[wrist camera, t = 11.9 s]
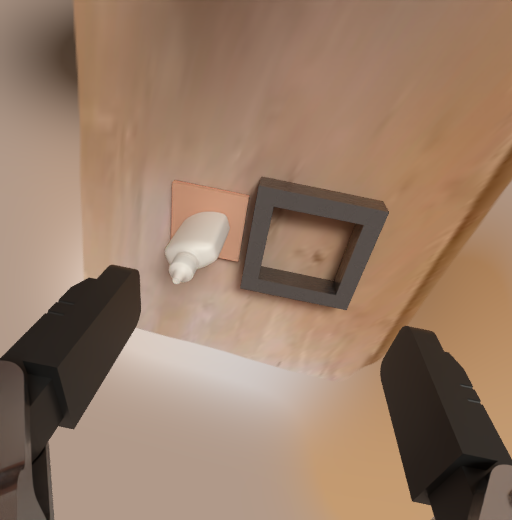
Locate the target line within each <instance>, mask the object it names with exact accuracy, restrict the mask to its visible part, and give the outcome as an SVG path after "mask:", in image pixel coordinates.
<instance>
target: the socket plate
mask: <svg viewBox="0 0 512 520" xmlns="http://www.w3.org/2000/svg"><path fill="white" fill-rule="evenodd" d="M274 207H278V208H283V209H288V210H293V211H298V212H303V213H307V214H312V215H317V216H322V217H327V218H332V219H337V220H342V221H347V222H351V223H356V224H355V227H354V229H353V232H352V235H351V237H350V240H349V242H348V245H347V248H346V250H345V253H344V256H343V258H342V261H341V263H340V266H339V269H338V271H337V274H336V277H335V279H334V281H330V280H326V279H321V278H316V277H311V276H306V275H301V274H296V273H291V272H287V271H282V270H277V269H272V268H267V267H262V266H261V263H262V259H263V254H264V249H265V245H266V240H267V235H268V231H269V226H270V222H271V217H272V212H273V208H274ZM388 214H389V211H388V209H387V208H386V206H385V204H384V202H383V201H379V200H374V199H369V198H364V197H359V196H354V195H349V194H344V193H340V192H335V191H330V190H325V189H320V188H315V187H310V186H305V185H300V184H295V183H291V182H286V181H281V180H276V179H271V178H266V177H261V180H260V183H259V187H258V193H257V199H256V204H255V210H254V215H253V221H252V226H251V232H250V237H249V243H248V248H247V254H246V259H245V265H244V271H243V276H242V282H241V287H240V288H241V289H246V290H251V291H256V292H261V293H266V294H270V295H275V296H280V297H285V298H290V299H295V300H300V301H305V302H309V303H314V304H319V305H324V306H329V307H334V308H339V309H343V310H347V308H348V305H349V303H350V301H351V299H352V296H353V294H354V292H355V289H356V287H357V285H358V282H359V280H360V278H361V276H362V273H363V271H364V269H365V266H366V264H367V262H368V260H369V257H370V255H371V253H372V250H373V248H374V246H375V243H376V241H377V239H378V237H379V234H380V232H381V230H382V227H383V225H384V223H385V221H386V218H387V216H388Z"/></svg>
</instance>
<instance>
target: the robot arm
mask: <svg viewBox="0 0 512 520" xmlns="http://www.w3.org/2000/svg"><path fill="white" fill-rule="evenodd" d="M140 312H141V298H140V275H139V271H138V270H136V269H131V268H126V267H122V266H117V265H110V266H109V267H107V269H106V270H105V271H104V272H103V273H102V274H101V275H100V276H99V277H98V278H97V279H93V278H88V279H86V280H84V281H82V282H80V283H78V284H76V285H74V286H72V287H71V288H70V289H69V290H68V291H67V292H66V293H65V294H64V295H63V296H62V297H61V298H60V299H59V302H58V303H57V302H56V303H55V304H54V305H53V306H52V307H51V308H50V309H49V310H48V313H47V314H44V315H43V316H42V317H41V318H40V319H39V320H38V321H37V322H36V323H35V324H34V325H33V326H32V327H31V328H30V329H29V330H28V332H26V333H25V334H24V335H23V336H22V337H21V338H20V339H19V340H18V341H17V342H16V343H15V344H14V345H13V346H12V347H11V348H10V349H9V350H8V351H7V352H6V353H5V354H4V355H3V356H2V357H1V358H0V520H54V510H53V495H52V481H51V466H50V453H49V443H48V441H49V439H50V438H51V436H52V435H53V433H54V432H55V430H56V428H57V427H58V426H61V427H65V428H70V429H74V428H75V427H76V425H77V423H78V422H79V420H80V418H81V417H82V415H83V413H84V412H85V410H86V409H87V407H88V405H89V404H90V402H91V400H92V399H93V397H94V395H95V394H96V392H97V390H98V389H99V387H100V385H101V384H102V382H103V380H104V379H105V377H106V376H107V374H108V372H109V371H110V369H111V367H112V366H113V364H114V362H115V361H116V359H117V357H118V355H119V354H120V352H121V351H122V349H123V347H124V346H125V344H126V343H127V341H128V339H129V337H130V336H131V334H132V333H133V331H134V329H135V328H136V326H137V323H138V320H139V317H140ZM380 372H381V373H380V375H381V382H382V385H383V389H384V393H385V397H386V401H387V404H388V409H389V413H390V416H391V421H392V424H393V428H394V432H395V436H396V440H397V444H398V448H399V452H400V455H401V460H402V463H403V467H404V471H405V475H406V479H407V483H408V486H409V491H410V495H411V499H412V501H413V502H418V503H423V504H427V505H431V507H432V510H433V513H434V517H433V518H432V519H431V520H512V459H511V457H510V455H509V453H508V451H507V450H506V448H505V446H504V444H503V442H502V440H501V438H500V436H499V435H498V433H497V431H496V429H495V427H494V425H493V423H492V421H491V419H490V418H489V416H488V414H487V412H486V410H485V408H484V406H483V405H481V404H480V399H479V397H478V395H477V393H476V391H475V390H473V389H472V387H473V386H472V384H471V382H470V380H469V378H468V376H467V374H466V372H465V371H464V369H463V368H462V367H461V366H460V364H459V363H458V362H457V361H456V360H455V359H454V358H453V357H452V356H451V355H450V354H449V353H448V352H444V350H443V348H442V347H441V344H440V342H439V340H438V339H437V336H436V335H435V333H434V332H432V331H429V330H424V329H419V328H414V327H409V326H404V327H402V328H401V330H400V331H399V333H398V335H397V336H396V338H395V340H394V341H393V343H392V345H391V346H390V348H389V350H388V352H387V353H386V355H385V357H384V358H383V361H382V364H381V371H380Z"/></svg>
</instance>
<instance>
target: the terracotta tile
mask: <svg viewBox="0 0 512 520" xmlns="http://www.w3.org/2000/svg"><path fill="white" fill-rule="evenodd" d="M249 196H250V195H245V194H240V193H235V192H230V191H226V190H221V189H216V188H211V187H206V186H201V185H196V184H191V183H186V182H182V181H177V180H174V181H173V182H172V220H171V239H172V238H173V236H174V235H175V233H176V232H177V230H178V229H179V227H180V226H181V225H182V223H183V222H184V220H185V219H187V218H188V217H190V216H192V215H194V214H197V213H200V212H219V213H223V214H225V215H226V216H227V219H228V222H229V226H230V230H229V233H228V235H227V238H226V240H225V243H224V245H223V247H222V250H221V252H220V254H219V256H218V258H222V259H227V260H232V261H237V262H238V260H239V256H240V250H241V244H242V238H243V232H244V226H245V220H246V214H247V208H248V202H249Z"/></svg>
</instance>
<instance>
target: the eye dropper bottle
mask: <svg viewBox="0 0 512 520" xmlns="http://www.w3.org/2000/svg"><path fill="white" fill-rule="evenodd" d="M229 230H230V226H229V222H228V219H227V216H226V215H225V214H223V213H219V212H200V213H197V214H194V215H192V216H190V217H188V218H187V219H185V220H184V222H183V223H182V225H181V226H180V227H179V229H178V230H177V232H176V233H175V235H174V236H173V238H172V239H171V240H170V242H169V243H168V245H167V247H166V248H165V256H166V259H167V261H168V263H169V264H170V266H169V273H170V275H171V277H172V278H173V280H172V281H173V283H174V284H179V283H180V282H188V281H190V280H191V279H192V278H193V276H194V274H195V272H196V270H197V269H200V268H203V267H206V266H208V265H210V264H211V263H213V262H214V261H216V260H217V258H218V256H219V254H220V252H221V250H222V247H223V245H224V243H225V240H226V238H227V235H228V233H229Z"/></svg>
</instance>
